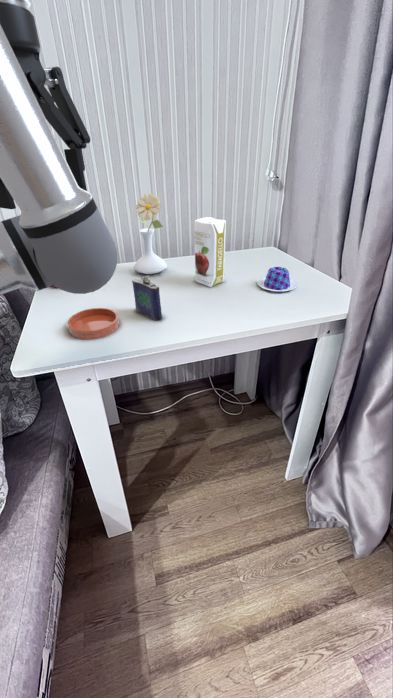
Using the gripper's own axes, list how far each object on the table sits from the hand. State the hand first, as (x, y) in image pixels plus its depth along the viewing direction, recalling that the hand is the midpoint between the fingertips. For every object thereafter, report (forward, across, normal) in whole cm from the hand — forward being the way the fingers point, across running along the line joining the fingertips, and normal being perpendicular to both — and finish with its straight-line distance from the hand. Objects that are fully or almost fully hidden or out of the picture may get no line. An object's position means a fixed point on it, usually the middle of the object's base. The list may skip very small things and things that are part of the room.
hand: (47, 200), depth 50 cm
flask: (+32, +24, +2) cm, 40 cm away
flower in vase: (+32, +50, +20) cm, 63 cm away
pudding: (+32, +58, -22) cm, 70 cm away
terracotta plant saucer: (+32, +12, +10) cm, 35 cm away
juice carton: (+32, +51, -2) cm, 60 cm away
